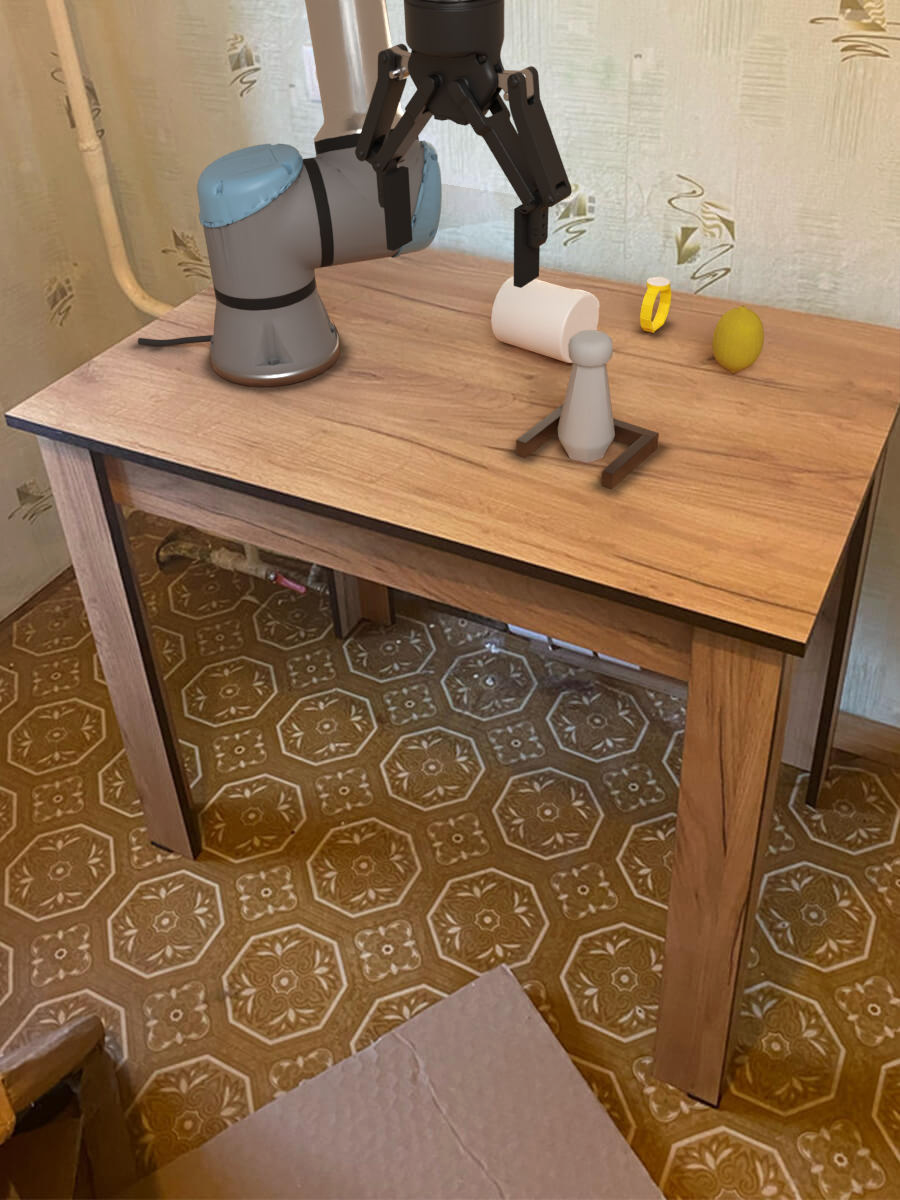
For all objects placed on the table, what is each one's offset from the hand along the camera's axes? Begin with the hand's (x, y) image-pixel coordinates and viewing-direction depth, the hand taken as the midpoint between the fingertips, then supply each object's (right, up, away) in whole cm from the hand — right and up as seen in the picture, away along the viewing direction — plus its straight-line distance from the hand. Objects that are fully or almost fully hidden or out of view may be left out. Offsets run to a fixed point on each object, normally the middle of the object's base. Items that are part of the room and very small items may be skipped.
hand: (461, 262), depth 96 cm
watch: (+24, +4, +39) cm, 46 cm away
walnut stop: (+13, -14, +19) cm, 27 cm away
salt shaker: (+13, -14, +18) cm, 27 cm away
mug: (+11, +1, +37) cm, 39 cm away
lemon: (+31, -4, +30) cm, 43 cm away
